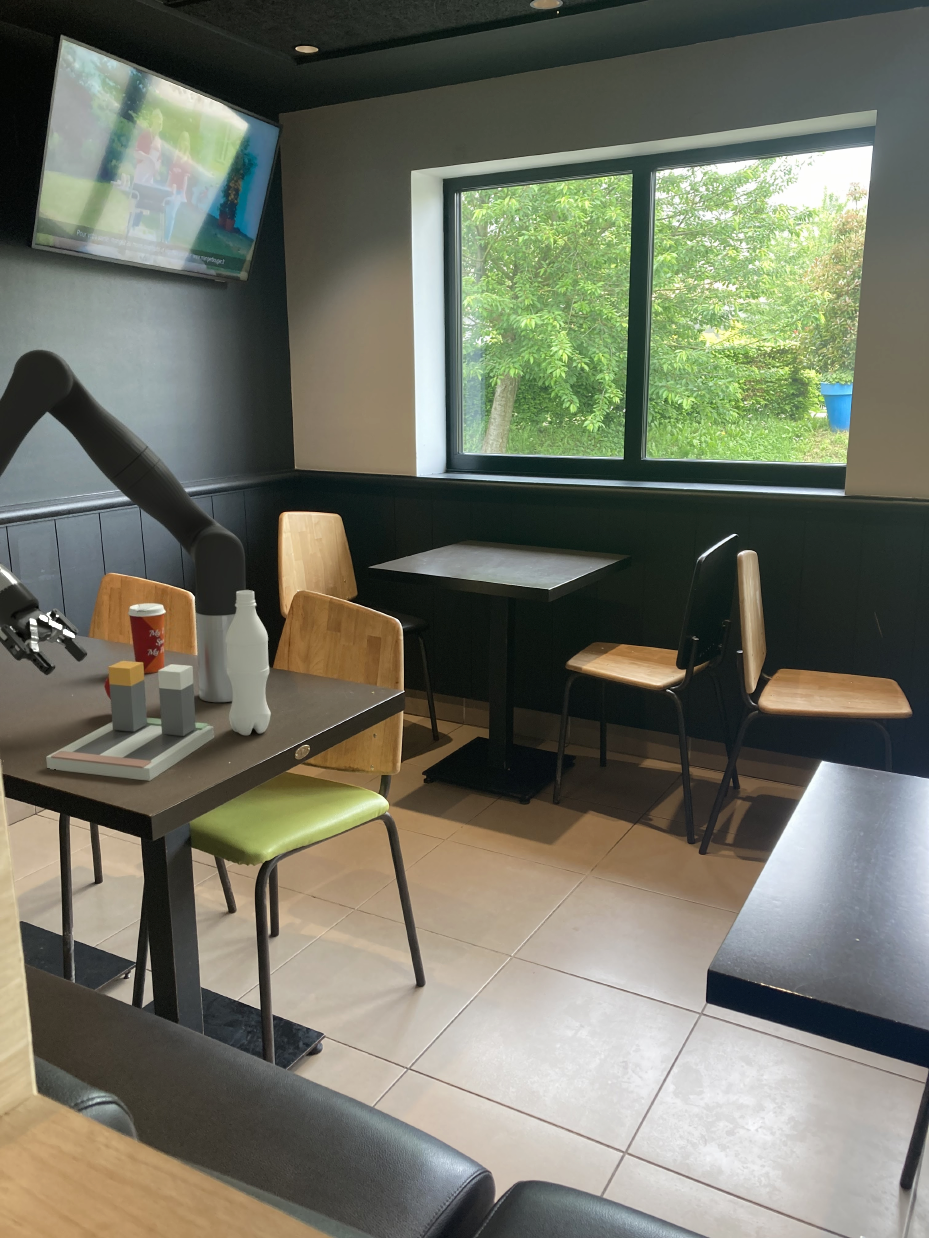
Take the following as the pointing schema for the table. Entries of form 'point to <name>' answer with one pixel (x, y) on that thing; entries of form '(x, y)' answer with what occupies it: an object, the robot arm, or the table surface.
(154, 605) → the paper cup
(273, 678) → the table surface
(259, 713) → the water bottle
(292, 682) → the table surface
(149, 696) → the table surface
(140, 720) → the orange-topped grey pillar
